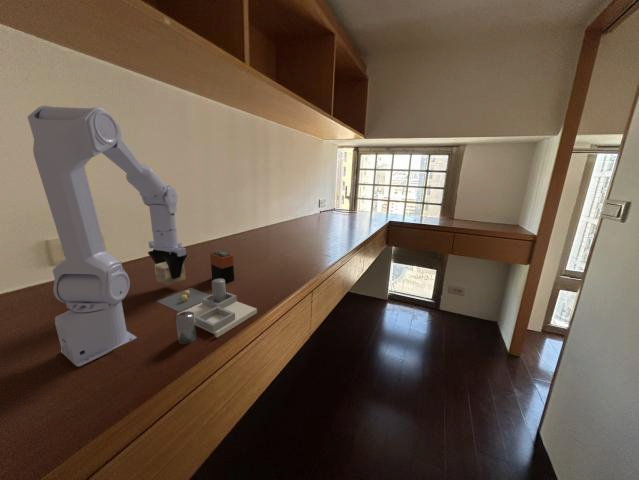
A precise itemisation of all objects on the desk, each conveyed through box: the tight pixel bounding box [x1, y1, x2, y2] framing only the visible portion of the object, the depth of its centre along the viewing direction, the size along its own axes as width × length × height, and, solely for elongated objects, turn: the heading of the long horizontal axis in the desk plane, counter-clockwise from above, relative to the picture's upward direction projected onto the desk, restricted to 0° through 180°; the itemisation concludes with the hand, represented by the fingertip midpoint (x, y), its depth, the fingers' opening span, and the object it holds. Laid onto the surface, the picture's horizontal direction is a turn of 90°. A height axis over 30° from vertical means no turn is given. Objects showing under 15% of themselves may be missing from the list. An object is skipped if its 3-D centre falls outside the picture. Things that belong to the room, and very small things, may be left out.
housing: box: [154, 262, 187, 286], centre depth 73 cm, size 5×5×5 cm
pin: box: [175, 311, 197, 345], centre depth 52 cm, size 3×3×6 cm
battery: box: [209, 249, 235, 284], centre depth 81 cm, size 4×7×10 cm, turn 50°
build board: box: [176, 279, 258, 338], centre depth 61 cm, size 12×14×7 cm
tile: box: [156, 287, 210, 313], centre depth 69 cm, size 10×10×2 cm
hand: (170, 275), depth 74 cm, fingers closed on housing, 5 cm apart
